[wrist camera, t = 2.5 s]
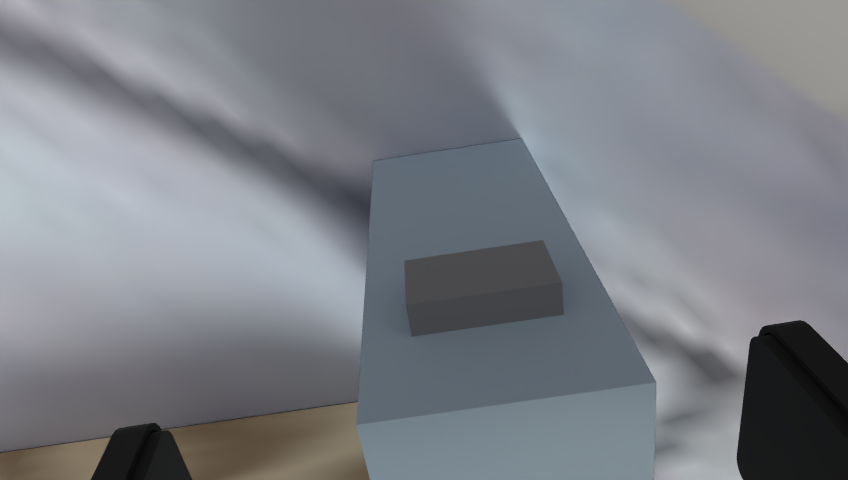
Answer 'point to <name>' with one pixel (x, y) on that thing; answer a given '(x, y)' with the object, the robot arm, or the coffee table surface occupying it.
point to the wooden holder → (226, 450)
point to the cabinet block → (491, 332)
